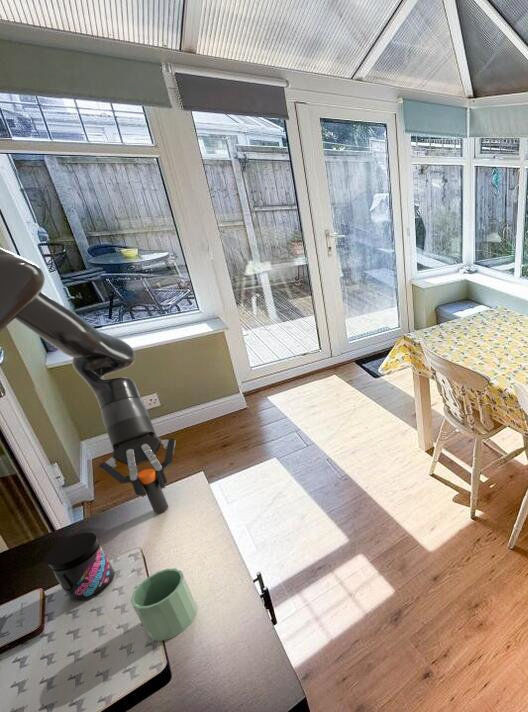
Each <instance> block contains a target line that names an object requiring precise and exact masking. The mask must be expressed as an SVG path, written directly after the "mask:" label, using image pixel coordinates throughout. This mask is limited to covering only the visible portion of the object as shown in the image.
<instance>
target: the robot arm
mask: <svg viewBox="0 0 528 712" xmlns="http://www.w3.org/2000/svg"><path fill="white" fill-rule="evenodd" d="M44 285H45V274H44V271H43V270H42V269H41V268H40V267H39V266H38V265H37V264H36V263H34V262H32V261H30V260H27V259H26V258H23V257H21V256H20V255H17V254H15V253H13V252H11V251H9V250H6V249H3V248H1V247H0V332H2V331H3V330H5V328H6V327H7V326H8V325H9V324H10V323H11V322H12V321H13V320H16V321H18V322H19V323H20V324H22V325H23V326H25V327H26V328H28V329H29V330H31V331H32V332H33V333H35V334H36V335H37V336H39V337H40V338H41V339H43V340H44V341H45V342H47V343H48V344H50V345H51V346H53V347H55V348H56V349H57V350H59V351H60V352H61V353H63V354H65V355H66V356H68V357H71V358H72V361H71V365H72V367H73V369H74V370H75V372H76V374H78V375H79V376H80V377H81V379H83V381H85V383H86V384H87V385H88V387H89V388H90V390H92V392H93V394H94V396H95V398H96V401H97V403H98V406H99V410H100V412H101V420H102V422H103V425H104V428H105V430H106V433H107V436H108V439H109V442H110V444H111V447H112V454H111V457H110V458H109V459H107V460H106V461H105V462H101V463H100V464H99V468H100V469H101V470H102V471H104V472H105V473H106V474H108V475H109V476H111V477H112V478H113V479H114V480H116V481H117V482H119V483H120V484H127V483H128V484H129V483H131V484H132V487H133V490H134V493H135V494H136V496H138V497H140V496H141V497H142V498H144V497H147V494H146V492H145V489H144V487H143V485H142V483H141V481H140V479H139V477H138V474H139V468H138V466H139V465H142V464H143V463H149V462H150V464H151V466H152V467H153V469H154V471H155V474H156V477H157V479H158V482H159V485H160V487H161V489H162V490H163V489H166V485H168V480H167V476H166V474H165V470H166V469H167V468H168V467H170V466H171V465H172V464H173V458H174V454H175V448H176V439H175V438H173V437H172V438H169V439H161V438H160V437H159V436H158V435H157V434H156V431H155V428H154V426H153V422H152V420H151V418H150V413H149V412H148V410H147V407H146V405H145V404H144V402H143V400H142V398H141V395H140V392H139V390H138V388H137V385H136V382H135V381H134V380H133V379H132V378H130V377H115V378H108V379H105V377H106V376H108V375H111V374H113V373H116V372H120V371H122V370H125V369H128V368H129V367H132V366H133V364H134V363H135V361H136V357H137V356H136V352H135V350H134V349H133V348H132V346H131V345H130V344H129V343H127V342H125V341H124V340H122V339H119V338H118V337H114V336H112V335H109V334H107V333H104V332H102V331H98V329H96V328H95V327H93V325H91V324H90V323H89V322H88V321H87V320H85V319H84V318H82V317H81V316H80V315H79V314H77V313H75V312H74V311H72V310H71V309H69V308H67V307H66V306H65V305H63V304H60V303H59V302H58V301H56V300H55V299H52V298H51V297H50V296H49V295H47V294H45V293H44V292H42V289H43V287H44ZM161 446H163V449H164V450H165V455H164V460H163V461H162V462H161V463H160V461H159V460H158V458H157V454H158V452H159V449H160V447H161ZM116 462H119V463H121V464H123V465H126V466H128V472H129V473H128V474H129V475H123V474H122V473H121V472H119V471H118V470H116V468H117V464H116Z"/></svg>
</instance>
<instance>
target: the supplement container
mask: <svg viewBox="0 0 528 712" xmlns="http://www.w3.org/2000/svg"><path fill="white" fill-rule="evenodd" d="M44 561H45V564H46V565H47V566H48V569H49V570H50V571H51V573H52V574H53V576H54V578H55V579H56V580H57V582H58V583H59V585H60V587H61V588H62V590H63V592H64V593H65V595H66V596H67V598H68V599H69V600H71V601H74V602H81V601H85V600H88V599H91V598H93V596H94V597H96V596H98V595H100V593H102V592H103V591H105V590H106V589H107V588H108V587H109V586H110V585H111V583H112V582H113V580H114V578H115V574H116V573H115V571H116V570H115V569H114V568H113V566H112V564H111V562H110V560H109V558H108V556H107V554H106V552H105V551H104V548H103V547H102V545H101V542H100V540H99V538H98V537H97V535H96V534H95V533H93V532H82V533H78V534H74V535H72V536H69V537H67V538H65V539H63V540H62V541H60V542H58V543H57V544H55V545H54V546H53V547H52V548H51V549H50V550H49V551H48V552H47V554H46V555H45V557H44ZM108 585H109V586H108ZM107 586H108V587H107ZM106 587H107V588H106ZM105 588H106V589H105ZM101 591H102V592H101ZM95 595H96V596H95Z"/></svg>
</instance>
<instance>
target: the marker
mask: <svg viewBox="0 0 528 712" xmlns="http://www.w3.org/2000/svg"><path fill="white" fill-rule="evenodd" d="M155 473H156V471H155V469H154V468H146V469H143V470H141V471H139V472H138V477H139V479H140V481H141V483H142V485H143V488H144V491H145V493H146V497H147V499H148V502H149V504H150V506H151V508H152V511H153V512H154V514H162V513H164V512H166V511H167V510H168V508H169V504H168V501H167V499H166V497H165V494H164V492H163V489H161V487H160V485H159V482H158V479H157V477H156V474H155Z"/></svg>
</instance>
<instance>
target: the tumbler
mask: <svg viewBox="0 0 528 712" xmlns="http://www.w3.org/2000/svg"><path fill="white" fill-rule="evenodd" d="M130 603H131V606H132V608H133V609H134V611H135V613H136V615H137V617H138V619H139V621H140V623H141V624H142V626H143V628H144V630H145V632H146V634H147V636H148V637H149V638H150V639H151V640H152V641H155V642H163V641H168V640H170V639H173V638H174V637H176V636H178V635H180V634H181V633H182V632H184V631H185V630H186V629H187V628H188V627H189V626H190V625H191V623H192V622H193V621H194V619H195V617H196V615H197V611H198V606H197V604H196V602H195V599H194V597H193V594H192V592H191V590H190V587H189V585H188V583H187V580H186V579H185V575H184V574H183V572H182V570H181V569H179V568H174V567H173V568H165V569H161V570H159V571H157V572H155V573H153V574H151V575H149V576H147V577H146V578H145V579H144V580H142V582H140V583H139V584H138V586H136V588H135V589H134V590H133V592H132V594H131V598H130Z"/></svg>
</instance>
